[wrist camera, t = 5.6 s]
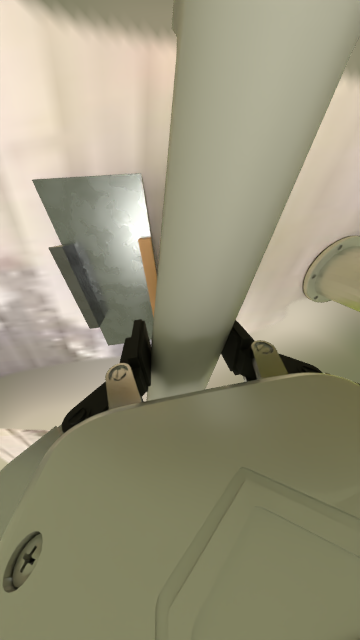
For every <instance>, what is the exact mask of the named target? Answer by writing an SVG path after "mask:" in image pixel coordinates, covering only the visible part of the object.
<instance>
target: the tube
mask: <svg viewBox="0 0 360 640" xmlns="http://www.w3.org/2000/svg"><path fill="white" fill-rule="evenodd" d="M172 30H173V31H174V33H175V34H176V36H177V54H176V67H175V79H174V90H173V102H172V113H171V125H170V136H169V148H168V159H167V171H166V183H165V194H164V206H163V217H162V229H161V240H160V252H159V263H158V275H157V286H156V298H155V309H154V321H153V332H152V344H151V386H148V392H147V401H150V400H155V399H160V398H165V397H170V396H175V395H180V394H185V393H190V392H196V391H201V390H205V388H206V386H207V384H208V382H209V379H210V377H211V375H212V372H213V370H214V368H215V366H216V363H217V361H218V359H219V356H220V354H221V352H222V350H223V347H224V345H225V343H226V340H227V338H228V336H229V333H230V331H231V329H232V327H233V324H234V322H235V320H236V317H237V315H238V313H239V310H240V308H241V306H242V304H243V301H244V299H245V297H246V294H247V292H248V290H249V288H250V285H251V283H252V281H253V278H254V276H255V274H256V271H257V269H258V267H259V265H260V262H261V260H262V258H263V255H264V253H265V251H266V248H267V246H268V244H269V242H270V239H271V237H272V235H273V232H274V230H275V228H276V225H277V223H278V221H279V219H280V216H281V214H282V212H283V209H284V207H285V205H286V202H287V200H288V198H289V196H290V193H291V191H292V189H293V186H294V184H295V182H296V180H297V177H298V175H299V173H300V170H301V168H302V166H303V163H304V161H305V159H306V157H307V154H308V152H309V150H310V147H311V145H312V143H313V140H314V138H315V136H316V134H317V131H318V129H319V127H320V124H321V122H322V120H323V117H324V115H325V113H326V111H327V108H328V106H329V104H330V101H331V99H332V97H333V94H334V92H335V90H336V88H337V85H338V83H339V81H340V78H341V76H342V74H343V72H344V69H345V67H346V65H347V62H348V60H349V58H350V55H351V53H352V51H353V49H354V47H355V45H356V43H357V41H358V39H359V37H360V0H173V17H172Z"/></svg>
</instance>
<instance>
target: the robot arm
mask: <svg viewBox="0 0 360 640" xmlns="http://www.w3.org/2000/svg"><path fill="white" fill-rule="evenodd" d="M303 289H304V293H305V295H306V297H307V298H308V299H310V300H312V301H315V302H328V301H331V300H333V301H335V302H338V303H340V304H343V305H345V306H347V307H350V308H352V309H354V310H356V311H359V312H360V236H350V237H347V238H343V239H341V240H339V241H337V242H335V243H334V244H332V245H331V246H329V247H328V248H327V249H326V250H325V251H323V252H322V253H321V254H320V255H319V256H318V257H317V259H316V260H315V261H314V262H313V264H312V265H311V267H310V268H309V270H308V272H307V274H306V276H305V280H304V285H303ZM221 354H222V356H223V358H224V360H225V362H226V363H227V365H228V367H229V369H230V371H233V372H234V374H235V375H239V374H241V375H243V379H244V382H243V383H238V384H232V385H227V386H222V387H216V388H211V389H206V390H201V391H196V392H190V393H185V394H180V395H175V396H170V397H165V398H160V399H155V400H150V401H146V402H143V399H142V396H143V395H144V394H145V392H148V386H151V344H150V340H149V336H148V332H147V328H146V324H145V321H142V319H139V320H134V324H133V329H132V335H131V337H128V338H126V339H125V342H124V347H123V351H122V355H121V359H120V363H119V364H117V365H114V366H112V367H111V368H110V369H109V370H108V371H107V373H106V376H105V380H106V382H104V383H103V384H102V385H101V386H100V387H98V388H97V389H96V390H95V391H94V392H92V393H91V394H90V395H89V396H87V397H86V398H85V399H84V400H83V401H81V402H80V403H79V404H78V405H77V406H75V407H74V408H73V409H72V410H71V411H70V412H69V413H68V414H67V415H66V417H65V418H64V420H63V422H62V424H61V425H60V426H59V427H57V426H55V427H54V428H53V429H51V430H50V431H49V432H48V433H46V434H45V435H44V436H43V437H41V438H40V439H39V440H38V441H36V442H35V443H34V444H33V445H31V446H30V447H29V448H27V449H26V450H25V451H24V452H22V453H21V454H20V455H19V456H17V457H16V458H15V459H14V460H12V461H11V462H10V463H9V464H7V465H6V466H5V467H4V468H3V469H2V470H1V471H0V640H360V384H359V383H356V382H353V381H351V380H348V379H346V378H343V377H339V376H335V375H331V374H328V373H325V374H323V373H322V372H321V371H320V370H319V369H318V368H316V367H314V366H313V365H310V364H307V363H305V362H302V361H299V360H296V359H293V358H290V357H287V356H284V355H281V354H278V352H277V350H276V348H275V347H274V346H273V345H272V344H271V343H269V342H266V341H261V340H258V341H254V340H253V338H252V337H251V336H250V335H249V334H248V333H247V332H246V331H245V329H244V328H243V327H242V326H241V325H240V324H239V323H238V322H237V321H236V320H235V322H234V324H233V327H232V329H231V331H230V333H229V336H228V338H227V340H226V343H225V345H224V347H223V350H222V352H221Z"/></svg>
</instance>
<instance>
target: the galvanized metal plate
mask: <svg viewBox="0 0 360 640" xmlns="http://www.w3.org/2000/svg"><path fill="white" fill-rule="evenodd" d="M32 181H33V183H34V185H35V187H36V190H37V192H38V194H39V196H40V198H41V200H42V203H43V205H44V207H45V209H46V211H47V213H48V216H49V218H50V220H51V222H52V224H53V226H54V229H55V231H56V233H57V235H58V237H59V239H60V242H61V244H62V245H59V246H54V247H49V250H50V252H51V254H52V256H53V258H54V260H55V262H56V264H57V265H58V267H59V269H60V271H61V273H62V275H63V277H64V279H65V281H66V283H67V285H68V287H69V289H70V291H71V293H72V295H73V297H74V299H75V301H76V303H77V305H78V307H79V308H80V310H81V312H82V314H83V316H84V318H85V320H86V322H87V324H88V326H89V328H90V329H91V328H99V327H100V328H101V331H102V333H103V335H104V337H105V339H106V341H107V344H108V345H115V344H122V343H124V342H125V339H126V338H128V337H131V335H132V329H133V324H134V320H139V319H142V321H145V324H146V328H147V332H148V336H149V340H150V339H152V332H153V321H154V317H153V312H152V307H151V302H150V297H149V292H148V287H147V282H146V277H145V272H144V267H143V263H142V258H141V253H140V248H139V243H138V239H139V238H144V237H151V232H150V226H149V219H148V213H147V207H146V200H145V194H144V187H143V181H142V176H141V173H138V174H121V175H104V176H87V177H70V178H53V179H36V180H32ZM151 241H152V239H151ZM152 248H153V245H152ZM153 254H154V251H153ZM154 260H155V258H154ZM155 267H156V264H155ZM156 273H157V271H156Z"/></svg>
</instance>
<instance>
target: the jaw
mask: <svg viewBox="0 0 360 640" xmlns="http://www.w3.org/2000/svg"><path fill="white" fill-rule="evenodd" d="M138 243H139V248H140V253H141V258H142V263H143V267H144V272H145V277H146V282H147V287H148V292H149V297H150V302H151V307H152V312H153V317H154V309H155V298H156V286H157V273H156V267H155V260H154V254H153V248H152V241H151V237H144V238H139V239H138Z"/></svg>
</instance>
